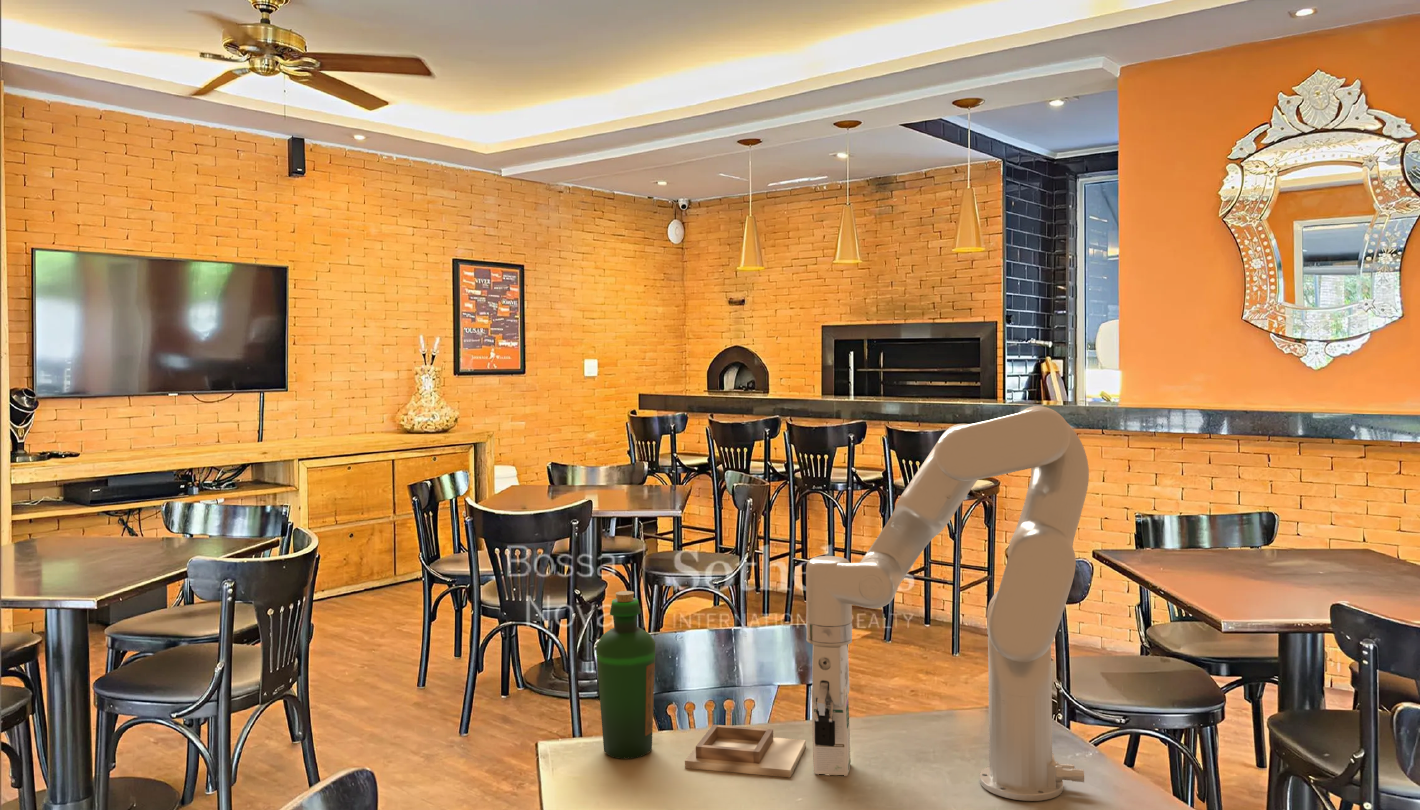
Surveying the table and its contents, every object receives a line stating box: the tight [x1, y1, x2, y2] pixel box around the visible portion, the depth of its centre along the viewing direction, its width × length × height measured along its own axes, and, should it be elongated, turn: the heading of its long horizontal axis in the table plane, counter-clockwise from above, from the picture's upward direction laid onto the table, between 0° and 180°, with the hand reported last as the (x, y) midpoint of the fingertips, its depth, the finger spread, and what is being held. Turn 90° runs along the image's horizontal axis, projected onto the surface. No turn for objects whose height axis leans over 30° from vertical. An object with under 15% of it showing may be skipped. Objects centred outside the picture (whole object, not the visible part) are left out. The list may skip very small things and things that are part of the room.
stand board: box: [684, 724, 807, 778], centre depth 171 cm, size 18×14×3 cm
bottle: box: [595, 590, 656, 760], centre depth 174 cm, size 11×11×28 cm
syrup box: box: [810, 686, 852, 777], centre depth 165 cm, size 6×6×14 cm
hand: (829, 734), depth 165 cm, fingers open, 9 cm apart
